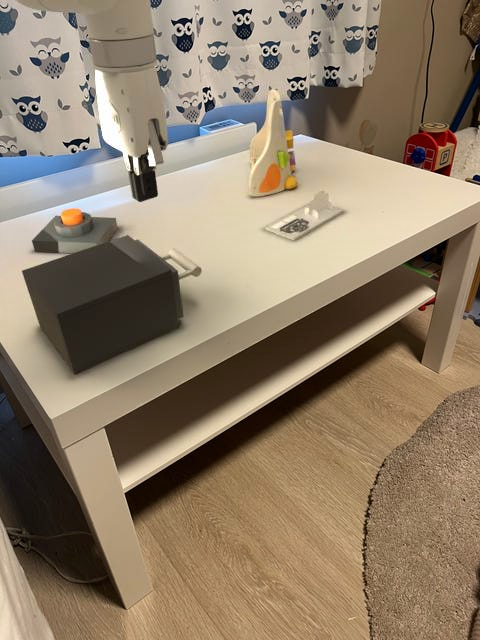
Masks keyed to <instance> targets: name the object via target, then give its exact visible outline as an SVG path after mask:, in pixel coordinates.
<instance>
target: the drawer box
mask: <svg viewBox="0 0 480 640" xmlns="http://www.w3.org/2000/svg"><path fill="white" fill-rule="evenodd" d="M135 240H136V239H134V238H132V237H131V236H129V234H126V235H123V236H120V237H117V238H115V239H110V240H109V241H108V242H105V243H102V244H99V245H96V246H93V247H90V248H87V249H84V250H82V251H79V252H76V253H69V254H67V255H64V256H61V257H58V258H55V259H52V260H48V261H46V262H43V263H41V264H37V265H33V266H31V267H28V268H26V269H22V270H21V273H22V276H23V279H24V283H25V286H26V288H27V292H28V294H29V297H30V301H31V304H32V306H33V310H34V312H35V316H36V319H37V323H38V324H39V328H40V329H41V331H42V332H43V334H44V335H45V337H47V339H48V341H49V343H51V345H52V346H53V347H54V348H55V350H56V351H57V352H58V355H60V357H61V358H62V359H63V361H64V363H65V364H66V365H67V366H68V368H69V369H70V370H71V372H72V373H73V375H77V374H79V373H82V372H84V371H86V370H89V369H91V368H93V367H95V366H97V365H99V364H102V363H104V362H106V361H108V360H111V359H112V358H115V357H118V356H119V355H122V354H124V353H126V352H128V351H130V350H133V349H135V348H137V347H140V346H142V345H143V344H146V343H148V342H150V341H152V340H154V339H158V338H159V337H161V336H164V335H166V334H168V333H170V332H172V331H175V330H176V329H179V328H180V323H179V320H178V315H177V307H176V300H175V292H174V284H173V276H172V270H171V269H170V268H169V267H168V266H166V265H165V264H164V263H163V262H161V261H160V260H159V259H157V258H156V257H155V256H154V255H152V254H151V253H150V252H149V251H147V250H146V249H145V248H144V247H142V246H141V245H140V244H138V243H137V242H136V241H135Z"/></svg>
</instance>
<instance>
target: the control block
mask: <svg viewBox="0 0 480 640" xmlns="http://www.w3.org/2000/svg"><path fill="white" fill-rule="evenodd" d="M82 215H83V222H81V223H79V224H75V225H64V224H63V221H62V217H61V215H55V216H54V217H53V218H52V219H51V220H50V221H48V223H47V224H46V225H45V226H44V227H43V228H42V229H41V230H40V231H39V232H38V234H36V235H35V237H33V238H32V240H31V244H32V246H33V250H34V252H37V253H56V254H57V253H59V254H73V253H76V252H79V251H82V250H84V249H87V248H90V247H93V246H96V245H99V244H102V243H105V242H108V241H111V238H112V237H113V236H114V235H115V233H116V231H117V230H118V229H119V228H118V222H117V218H116V217H103V216H100V217H99V216H92V215H91V214H90V213H87V212H84V211H82Z"/></svg>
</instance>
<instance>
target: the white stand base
mask: <svg viewBox="0 0 480 640" xmlns="http://www.w3.org/2000/svg"><path fill="white" fill-rule="evenodd" d="M325 191H326V190H323V189H322V190H320V191H318V192H317V193H315V195H314V197H313V200H311V201H310V202H309V203H308V204H307V205H305V206H303V207H301V208H299V209H298V210H296V211H294V212H292V213H290V214H288V215H286V216H284V217H282V218H280V219H279V220H276V221H275V222H273V223H271V224H269V225H268V226H266V227H265V231H267V232H270V233H272V234H276V235H278V236H281V237H283V238H286V239H287V240H291V241H293V242H294V241H296V240H298V239H300V238H301V237H303V236H304V235H306V234H308V233H310V232H311V231H313V230H315V229H316V228H318V227H320V226H322V225H323V224H325V223H327V222H329V221H330V220H332V219H334V218H336V217H337V216H339V215H340V214H343V209H340V208H337V207H334V206H333V203H332V202H330V201H329V198H330V195H329V193H328V192H327V193H326V192H325Z"/></svg>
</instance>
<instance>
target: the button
mask: <svg viewBox="0 0 480 640" xmlns="http://www.w3.org/2000/svg"><path fill="white" fill-rule="evenodd" d="M82 212H83V211H82V209H80V208H76V207H75V208H67V209H64V210H63V211H61V213H60V216H61V217H62V221H63V224H64V225H75V224H79V223H81V222H83V215H82Z"/></svg>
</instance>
